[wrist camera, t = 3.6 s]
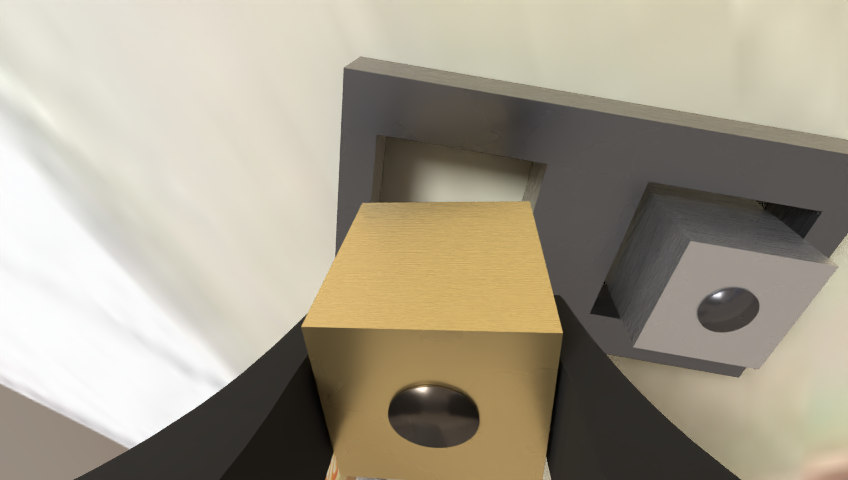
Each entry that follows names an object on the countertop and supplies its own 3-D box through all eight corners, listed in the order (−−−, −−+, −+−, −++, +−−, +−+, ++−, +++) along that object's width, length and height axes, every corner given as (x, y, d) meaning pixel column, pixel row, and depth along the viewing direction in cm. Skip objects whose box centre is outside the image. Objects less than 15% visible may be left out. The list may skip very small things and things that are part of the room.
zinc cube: (749, 196, 17) (840, 267, 13) (697, 285, 20) (759, 371, 15) (638, 177, 18) (691, 242, 13) (599, 268, 20) (634, 348, 16)
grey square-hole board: (845, 139, 16) (900, 163, 14) (713, 338, 21) (738, 377, 19) (360, 56, 16) (344, 67, 14) (346, 274, 21) (333, 305, 19)
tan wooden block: (529, 201, 12) (563, 336, 7) (520, 330, 14) (541, 492, 9) (362, 202, 12) (299, 329, 8) (380, 327, 14) (339, 478, 10)
